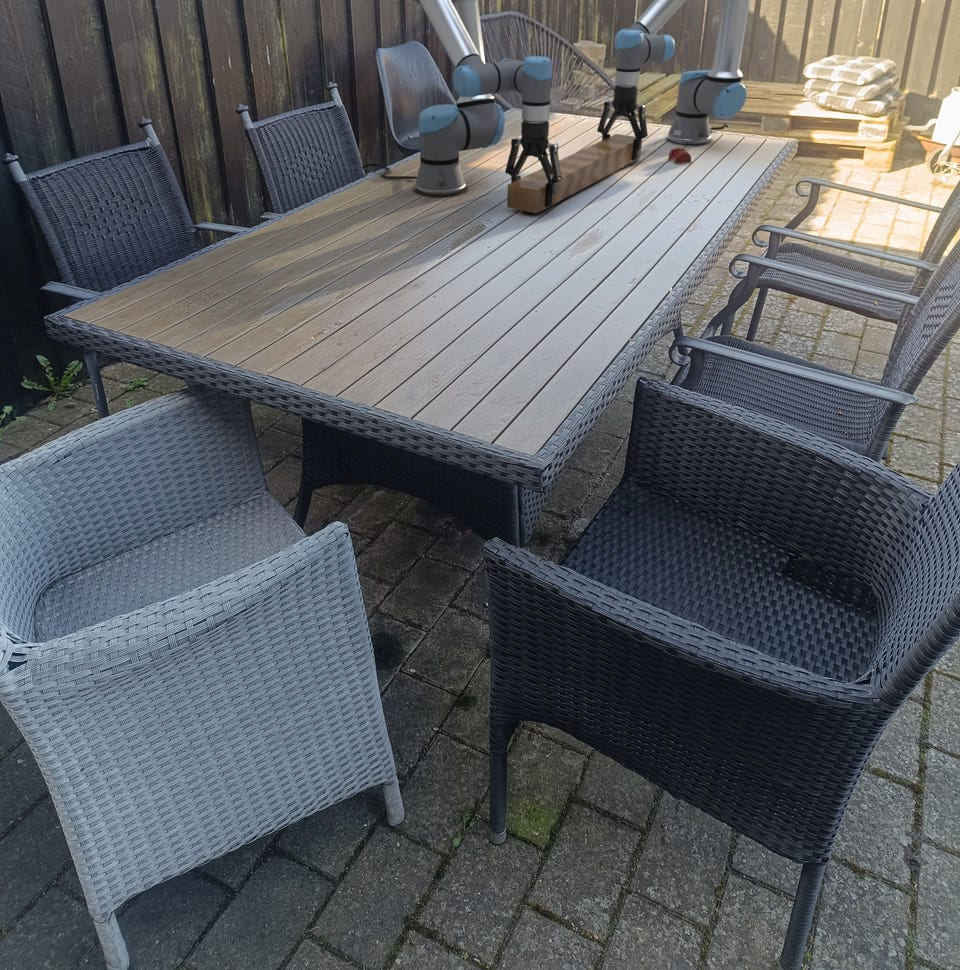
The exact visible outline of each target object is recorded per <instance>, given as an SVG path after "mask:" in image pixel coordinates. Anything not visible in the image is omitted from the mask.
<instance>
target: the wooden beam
mask: <svg viewBox="0 0 960 970" xmlns="http://www.w3.org/2000/svg"><path fill="white" fill-rule="evenodd" d="M634 139H636V137H635V136H633V135H626V134H619V133H614V134H613V135H610V137H608V138H606V139H604V140H602V139H601V140H600V141H598V142H595V143H594V144H591V145H588V146H587V147H585V148H583V149H581V150H578V151H576V152H574V153H572V154H570V155H568V156H565V157H564V158H561V159H559V163H560V169H561V175H562V180H561V181H559V182H557V183H555V193H554V194H553V195H552V205H551V206H553V205H555V204H557V203H559V202H561V201H562V200H564V199H567V198H568V197H570V196H572V195H574V194H576V193H578V192H579V191H581V190H583V189H585V188H587V187H589V186H591V185H592V184H594V183H596V182H598V181H600V180H603V178H606V177H607V176H609V175H611V174H613V173H615V172H617V171H618V170H621V169H623V168H624V167H626V166H629V164H632V163H634V162H635V161H637V160H640V158H641V153H642V145H643V139H642V140H641V148H640V149H639V150H638V154H637V159H636V160H634V161H633V160H632V151H633V141H634ZM550 165H551V164H550ZM551 167H552V165H551ZM546 183H548V180H547V177H546V175H545V172H544V170H543V167H541V168H540V169H538V170H535V171H534V172H531V173H529V174H527V175H525V176H523V177H521V179H518V180H516V181H514V182H512V183H511V182H510V183H508V184H507V193H506V194H507V195H506V196H507V200H506V208H507V209H513V210H518V211H523V212H527V213H532V214H538V213H540V212H543V211H544V210H545V209H548V208H550V207H551V206H549V207H545V192H546Z"/></svg>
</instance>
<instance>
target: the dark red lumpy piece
mask: <svg viewBox="0 0 960 970" xmlns="http://www.w3.org/2000/svg"><path fill="white" fill-rule="evenodd" d="M668 160H674V161H673V162H674V164H682V163H683V164H684V163H691V162H692V155H691V153H690V151H689V150H687V149H684V148H683V147H680V146H679V147H674V148H671V149H670V151H669V153H668Z"/></svg>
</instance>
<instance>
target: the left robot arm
mask: <svg viewBox="0 0 960 970" xmlns="http://www.w3.org/2000/svg"><path fill="white" fill-rule="evenodd" d="M414 1H415V2H416V4H418V5H420V6H421V8H422V9H423V11H424V13H425V15H426V17H427V19H428V21H429V22H430V24H431V26H432V28H433V30H434V33H435V34H436V37H437V38H438V40H439V43H440V44H441V45H442V48H443V50H444V51H445V54H446V55H447V57H448V59H449V61H450V63H451V64H452V66H453V68H454V71H453V73H452V84H453V88H454V89H453V90H454V91H455V93H456V94H457V95H458V96H459V97H458V99H457V101H456V102H455V104H453V103H452V104H449V103H444V104H437V105H432V106H429V107H426V108H425V109H423V110H422V111H421V112H420V114H419V116H418V118H419V119H418V136H419V138H418V139H419V157H420V158H419V159H420V161H419V162H420V164H419V168H418V172H417V175H416V176H415V175H394V176H393V175H391V176H390V175H387V174H388V173H390V171H391V169H390V168H389V167H388V166H385V165H383V164H380V163H379V164H378V163H373V162H371V163H365V164H364V165H363V166H362V167H361V169H364V170H365V169H366V168H368V167H378V168H382V169H384V170H385V171H383V172H382V173H380V177H381V178H383V179H387V180H390V179H391V180H400V179H401V180H402V179H403V180H404V179H405V180H415V183H414V184H415V185H414V186H415V192H417V193H418V194H420V195H424V196H430V197H450V196H455V195H459V194H461V193H463V192H464V191H466V181H465V179H464V176H463V172H462V169H461V165H460V152H463V151H469V150H477V149H486V148H488V147H492V146H496V145H497V144H498V143H500V141H501V140H502V137H503V136H504V133H505V128H506V118H505V117H506V116H505V113H504V111H503V108H502V107H501V105H499V104H497V103H496V98H495V96H494V95H493V94H502V93H509V92H516V93H520V94H521V95H522V97H521V119H522V121H521V126H520V127H521V130H520V132H521V133H520V134H521V138H519V137H518V136H517V137H514V138H512V139H510V146H511V147H510V151H509V155H508V159H507V162H506V166H505V171H504V172H505V174H506V175H509V176H510V177H511V179H510V183H512V182H514V181H516V180H518V179H521V178H522V176H521V175H520V173H521V170H522V168H523V167H524V164H525V163H526V161H527V159H528V157H534V158H537V160H538V161H539V162H540V165H541V168H543V170H544V172H545V175H546V177H547V180H548V183H546V192H545V207H548V208H550V207H551V206H553V205H552V195H553V194H554V193H555V183H557V182H559V181H561V180H562V175H561V169H560V163H559V160H560V159H559V153H558V152H559V144H558V143H551V142H549V135H550V122H549V120H550V110H551V109H550V108H551V93H552V92H551V91H552V77H553V73H552V60H551V59H550V58H549V57H547V56H541V55H531V56H526V57H525V58H524V59H523V61H522V60H519V59H516V58H509V57H508V58H503V59H502V60H500V61H498V62H497V61H496V62H487V63H486V60H485V59H486V58H485V51H484V49H485V48H484V43H483V42H484V41H483V33H482V24H481V17H480V16H481V15H480V5H479V0H414ZM520 146H521V147H522V150H521V152H520V156H519V157H518V154H519V150H520ZM547 149H548V150H547ZM547 151H548V152H549V154H548V152H547ZM517 157H518V160H517ZM551 165H552V167H551ZM549 206H550V207H549Z"/></svg>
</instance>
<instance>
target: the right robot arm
mask: <svg viewBox="0 0 960 970" xmlns="http://www.w3.org/2000/svg"><path fill="white" fill-rule="evenodd" d="M686 1H687V0H654V1H653V2H651V4H650V5H649V6H648V7H647V8H646V9H645V11H644V12H643V13H642V14H641V15H640V16H639V17H638V18H637V20H636V21H635V22H634V23H632V25H631V26H630V27H629V28H627V27H626V28H622V29H621V30H619V31H618V32H617V33H616V35H615V37H614V48H615V50H616V51H617V53H616V68H615V78H614V84H615V85H614V87H613V89H614V90H613V100H612V101H611V100H610V99H609V100H606V101H604V103H603V111H602V114H601V117H600V120H599V123H598V126H597V129H596V131H597V133H600V134H601V141H602V140H604V139H606V138H608V137H611V133H610V130H611V128H612V127H613V126H614V124H615V122H616V120H617V119H618V117H624V118H627V119H628V121H629V123H630V126H631V128H632V131H633V134H634V137H636V139H634V141H633V151H632V160H633V162H635V161H637V160H638V159H637V154H638V150H639V149H640V148H641V149H642V146H641V140H642V141H643V139H645V138H647V137H648V135H649V134H648V126H647V119H646V118H647V117H646V107H647V106H646V104H638V100H637V99H638V93H639V86H638V85H639V82H640V73H641V72H640V71H641V66H642V65H641V64H649V63H662V62H665V61H669V60H671V59H672V57H673V55H674V54H675V47H676V46H675V45H676V44H675V43H676V42H675V39H674V38H673V36H671V35H670V34H657V33H658V32H659V31H660V30H661V29H662V28H663V26H665V24H666V23H667V22H668V21H669V20H670V19H671V18H672V16H673V15H674V14H675V13H676V12H677V11H678V10H679V9H680V8H681V7H682V5H683V4H684V3H685V2H686ZM750 2H751V0H721V8H720V15H719V21H718V29H717V36H716V44H715V49H714V56H713V57H714V58H713V64H712V68H711V69H704V70H701V69H700V70H689V71H684V72H683V73H682V74H681V75H680V80H679V83H678V90H677V91H678V92H677V98H676V99H677V100H676V107H675V109H676V110H675V117H674V119H673V121H672V123H671V126H670V128H669V131H668V133H667V140H668V141H669V142H671V143H675V144H678V145H689V146H693V145H694V146H696V145H698V146H699V145H705V144H709V143H710V142H711V137H712V135H711V133H712V131H720V130H723V129H725V128H729V124H728V123H727V122H726V123H723V125H721V126H714V127H710V121H709V116H712V117H714V118H717V119H724V120H728V119H729V120H730V119H732V118H734V117H735V116H736V115H737V114H738V113H739V112H741V110H742V109H743V107H744V105H745V104H746V101H747V95H748V94H747V92H748V91H747V88H746V86H745V85H744V84H743V83H742V82H743V73H742V71H741V70H740V65H741V58H742V51H743V46H744V40H745V34H746V27H747V21H748V14H749V10H750V9H749V8H750ZM611 108H613V109H614V111H613V112H612V114H611V116H610V118H609V120H608V117H609V114H610V111H611ZM635 111H637V113H638V120H637V118H636V117H637V115H636V112H635ZM607 120H608V122H607ZM636 159H637V160H636ZM634 160H635V161H634Z"/></svg>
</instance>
